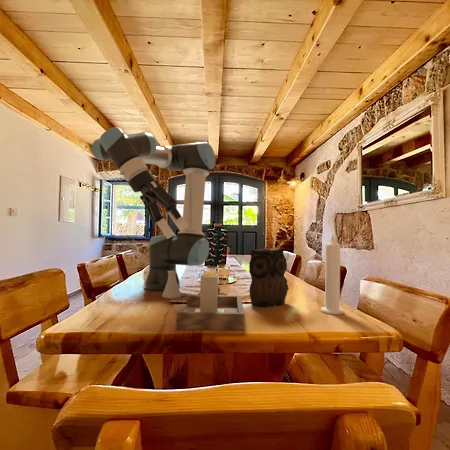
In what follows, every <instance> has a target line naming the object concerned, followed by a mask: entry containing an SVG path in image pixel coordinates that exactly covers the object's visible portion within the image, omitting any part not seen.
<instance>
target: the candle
mask: <svg viewBox="0 0 450 450" xmlns="http://www.w3.org/2000/svg"><path fill="white" fill-rule="evenodd" d="M324 266H325V267H324V268H325V271H324V272H325V274H324V275H325V276H324V279H325V281H324V284H325V285H324V289H325V291H324V306H322V307H321V308H320V311H321V312H322V313H325V314H327V315H342V314H344V313H345V310H344V308H341V307H340V305H341V304H340V301H341V295H340V294H341V293H340V292H341V288H340V287H341V244H339V243H338V242H337V241H336V239H335V235H334V234H332V235H331V237H330V241H329V242H327V243H326V244H325V264H324Z"/></svg>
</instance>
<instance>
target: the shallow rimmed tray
mask: <svg viewBox="0 0 450 450" xmlns="http://www.w3.org/2000/svg"><path fill="white" fill-rule="evenodd" d="M242 300H243V299H242V296H241V295H227V296H221V295H218V312H200V295H197V294H187V295H186V305H185V307H184V309H183V311H176V313H175V314H176V318H175V320H176V321H175V328H176V330H206V329H207V331H208V330H212V331H215V330H217V331H218V330H219V331H221V330H224V331H228V330H230V331H245V310H244V304H243V301H242Z"/></svg>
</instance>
